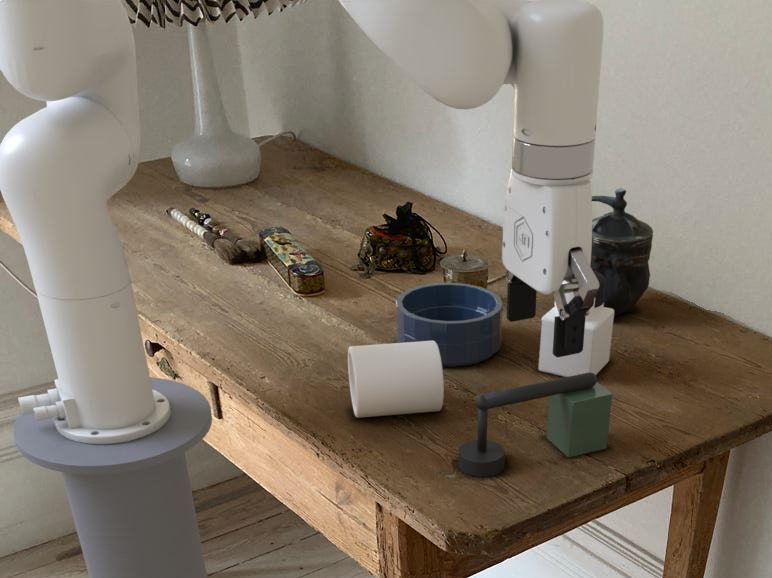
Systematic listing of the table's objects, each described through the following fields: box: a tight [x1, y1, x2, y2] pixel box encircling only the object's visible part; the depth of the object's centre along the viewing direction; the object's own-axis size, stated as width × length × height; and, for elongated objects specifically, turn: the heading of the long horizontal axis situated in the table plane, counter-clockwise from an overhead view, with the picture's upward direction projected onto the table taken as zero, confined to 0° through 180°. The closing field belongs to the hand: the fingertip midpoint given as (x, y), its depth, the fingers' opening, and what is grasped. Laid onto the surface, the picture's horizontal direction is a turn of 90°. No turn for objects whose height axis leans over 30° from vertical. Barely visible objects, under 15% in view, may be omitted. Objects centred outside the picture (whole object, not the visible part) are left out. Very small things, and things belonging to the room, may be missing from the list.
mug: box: [347, 341, 445, 419], centre depth 120 cm, size 12×10×8 cm
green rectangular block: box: [545, 381, 613, 458], centre depth 114 cm, size 5×5×7 cm
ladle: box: [458, 372, 598, 478], centre depth 111 cm, size 16×5×8 cm, turn 117°
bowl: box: [395, 282, 504, 368], centre depth 134 cm, size 14×14×6 cm
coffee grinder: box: [590, 187, 654, 319], centre depth 140 cm, size 13×15×18 cm
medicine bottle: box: [537, 270, 615, 378], centre depth 128 cm, size 7×7×12 cm
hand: (543, 335), depth 106 cm, fingers open, 9 cm apart
